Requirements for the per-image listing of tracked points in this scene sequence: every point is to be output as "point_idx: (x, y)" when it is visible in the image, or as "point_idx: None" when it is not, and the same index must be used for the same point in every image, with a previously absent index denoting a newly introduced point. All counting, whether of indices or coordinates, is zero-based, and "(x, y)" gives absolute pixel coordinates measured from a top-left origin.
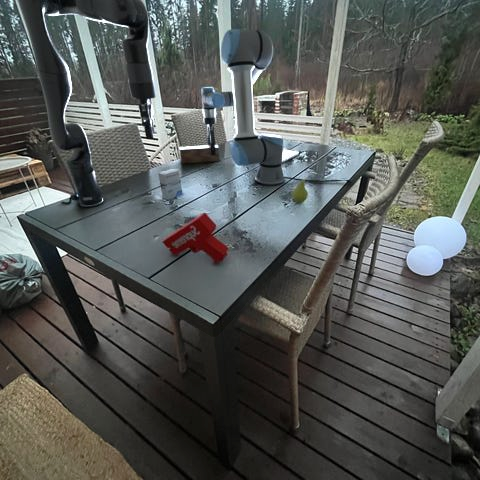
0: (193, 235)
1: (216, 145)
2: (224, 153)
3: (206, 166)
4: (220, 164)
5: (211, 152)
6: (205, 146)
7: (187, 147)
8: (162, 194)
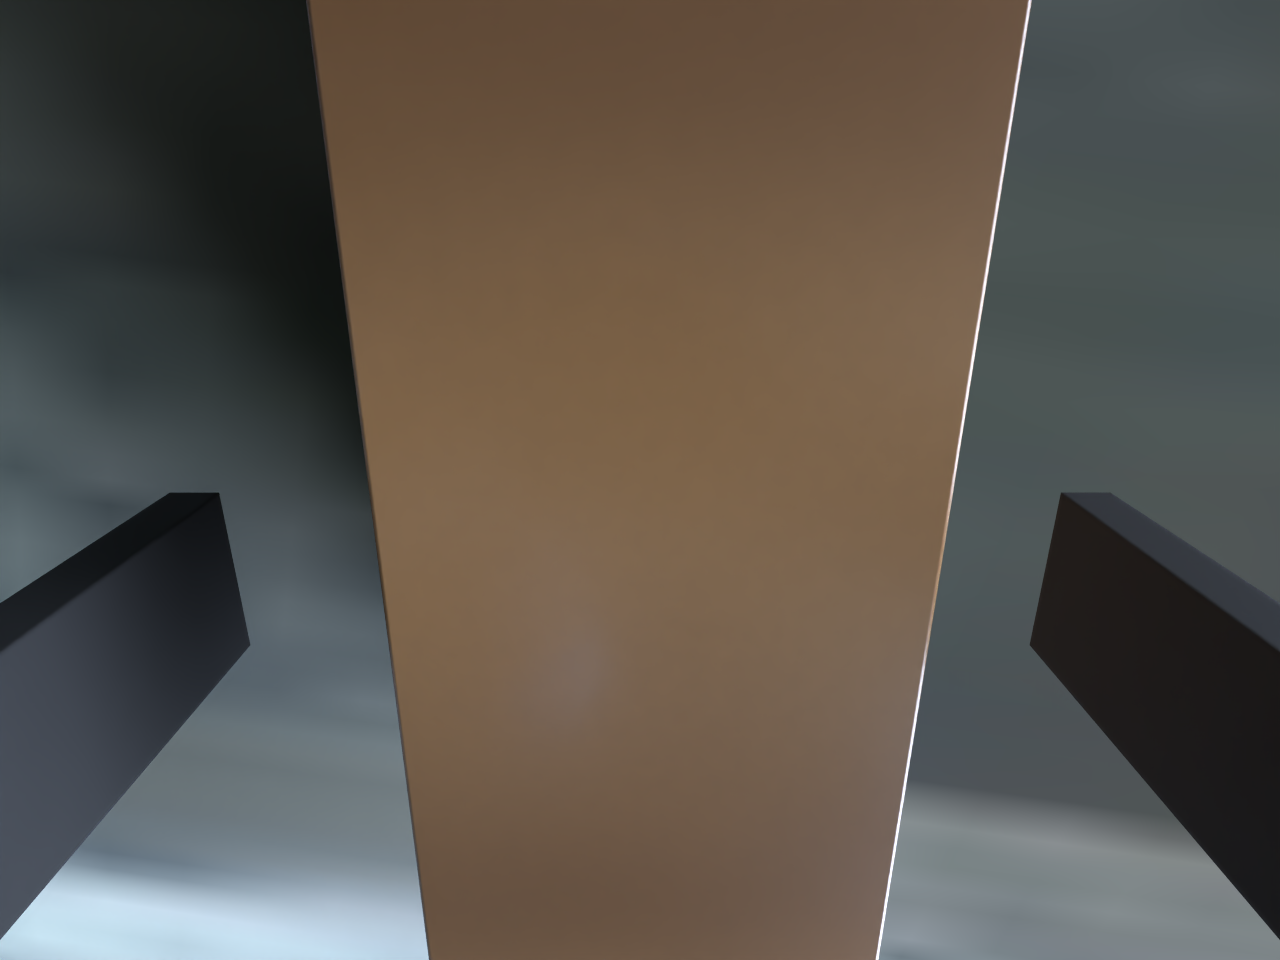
0: None
1: (784, 946)
2: (1177, 838)
3: (20, 209)
4: None
5: (87, 563)
6: (742, 405)
7: None
8: None
